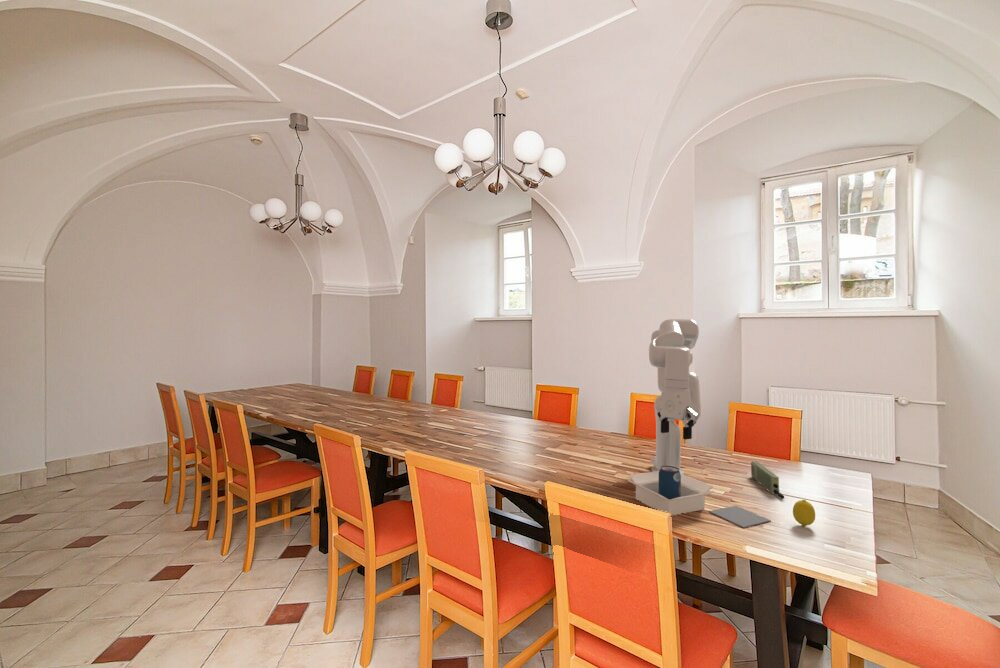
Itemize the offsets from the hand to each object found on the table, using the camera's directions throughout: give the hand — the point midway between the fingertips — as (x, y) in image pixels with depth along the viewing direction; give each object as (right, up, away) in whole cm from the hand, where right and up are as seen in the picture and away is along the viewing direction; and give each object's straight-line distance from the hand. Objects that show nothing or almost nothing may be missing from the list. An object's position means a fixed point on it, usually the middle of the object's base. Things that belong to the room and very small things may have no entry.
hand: (675, 435), depth 146 cm
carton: (-2, -23, 0) cm, 23 cm away
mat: (+16, -23, -9) cm, 30 cm away
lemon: (+32, -24, -16) cm, 43 cm away
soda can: (-2, -23, 0) cm, 23 cm away
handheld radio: (+41, -24, +17) cm, 51 cm away
